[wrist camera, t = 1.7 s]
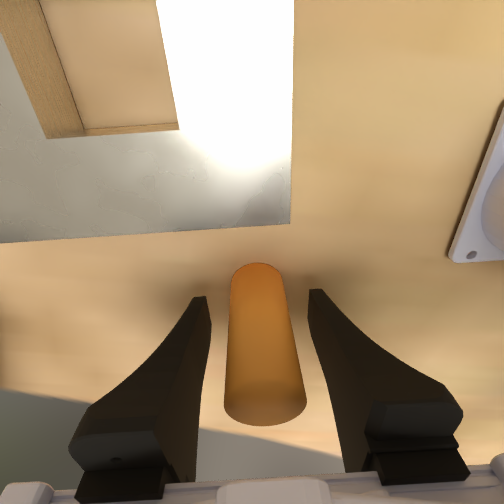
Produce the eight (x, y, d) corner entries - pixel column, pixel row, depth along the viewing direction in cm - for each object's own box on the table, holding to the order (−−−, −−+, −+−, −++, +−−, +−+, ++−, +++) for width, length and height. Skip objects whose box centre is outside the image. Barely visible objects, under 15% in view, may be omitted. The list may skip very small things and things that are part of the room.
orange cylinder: (282, 261, 15) (309, 376, 9) (282, 302, 17) (305, 423, 11) (228, 264, 15) (219, 382, 9) (233, 305, 17) (228, 428, 11)
